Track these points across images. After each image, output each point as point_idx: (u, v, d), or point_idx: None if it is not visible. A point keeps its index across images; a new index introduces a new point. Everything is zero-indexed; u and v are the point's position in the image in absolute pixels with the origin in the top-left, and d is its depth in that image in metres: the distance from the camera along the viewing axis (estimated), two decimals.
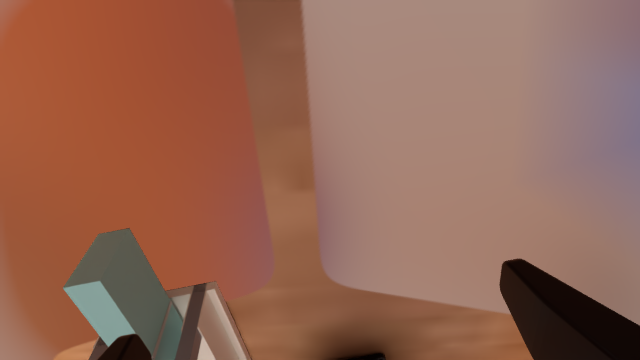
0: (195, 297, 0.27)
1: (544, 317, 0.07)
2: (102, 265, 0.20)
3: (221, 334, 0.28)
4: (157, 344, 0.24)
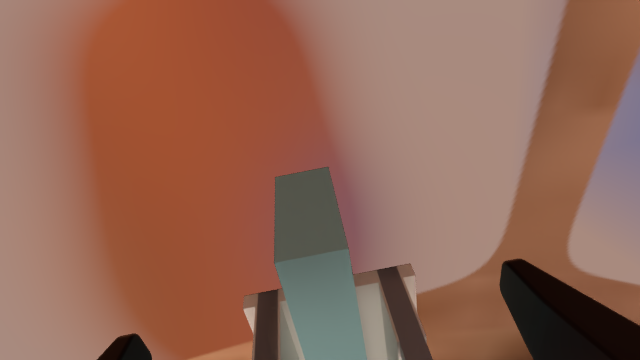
0: (390, 288, 0.17)
1: (544, 317, 0.07)
2: (329, 222, 0.11)
3: None
4: None
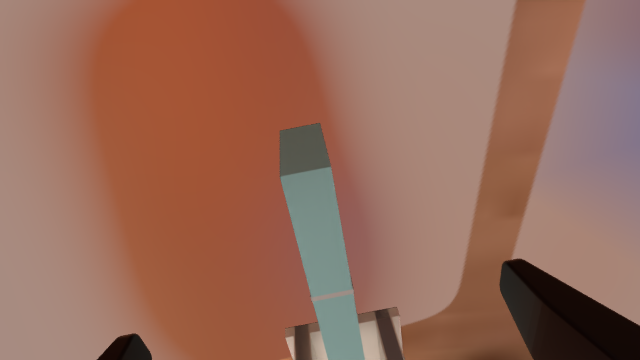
0: (383, 324, 0.26)
1: (544, 317, 0.07)
2: (318, 154, 0.15)
3: None
4: (350, 276, 0.18)
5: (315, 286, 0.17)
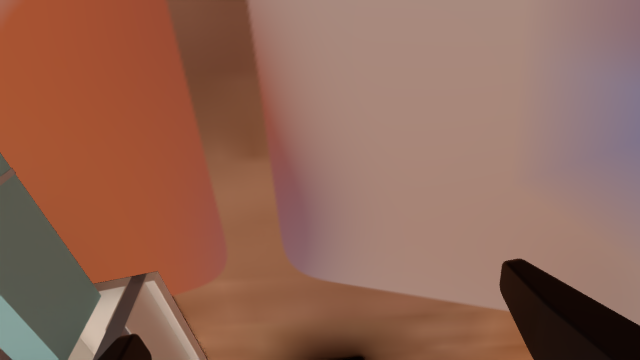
0: (130, 290, 0.22)
1: (544, 317, 0.07)
2: None
3: (165, 335, 0.24)
4: None
5: None
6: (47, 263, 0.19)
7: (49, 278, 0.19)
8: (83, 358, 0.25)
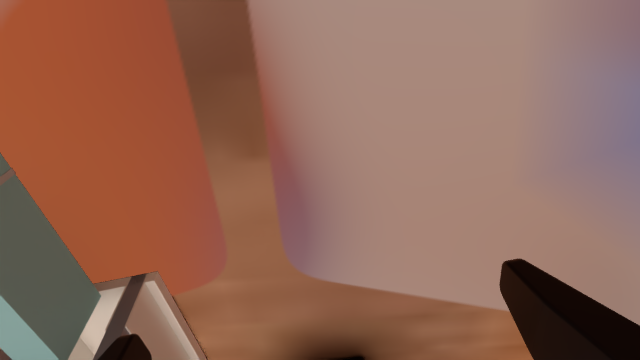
0: (130, 290, 0.22)
1: (544, 317, 0.07)
2: None
3: (165, 335, 0.24)
4: None
5: None
6: (47, 263, 0.19)
7: (49, 278, 0.19)
8: (83, 358, 0.25)
